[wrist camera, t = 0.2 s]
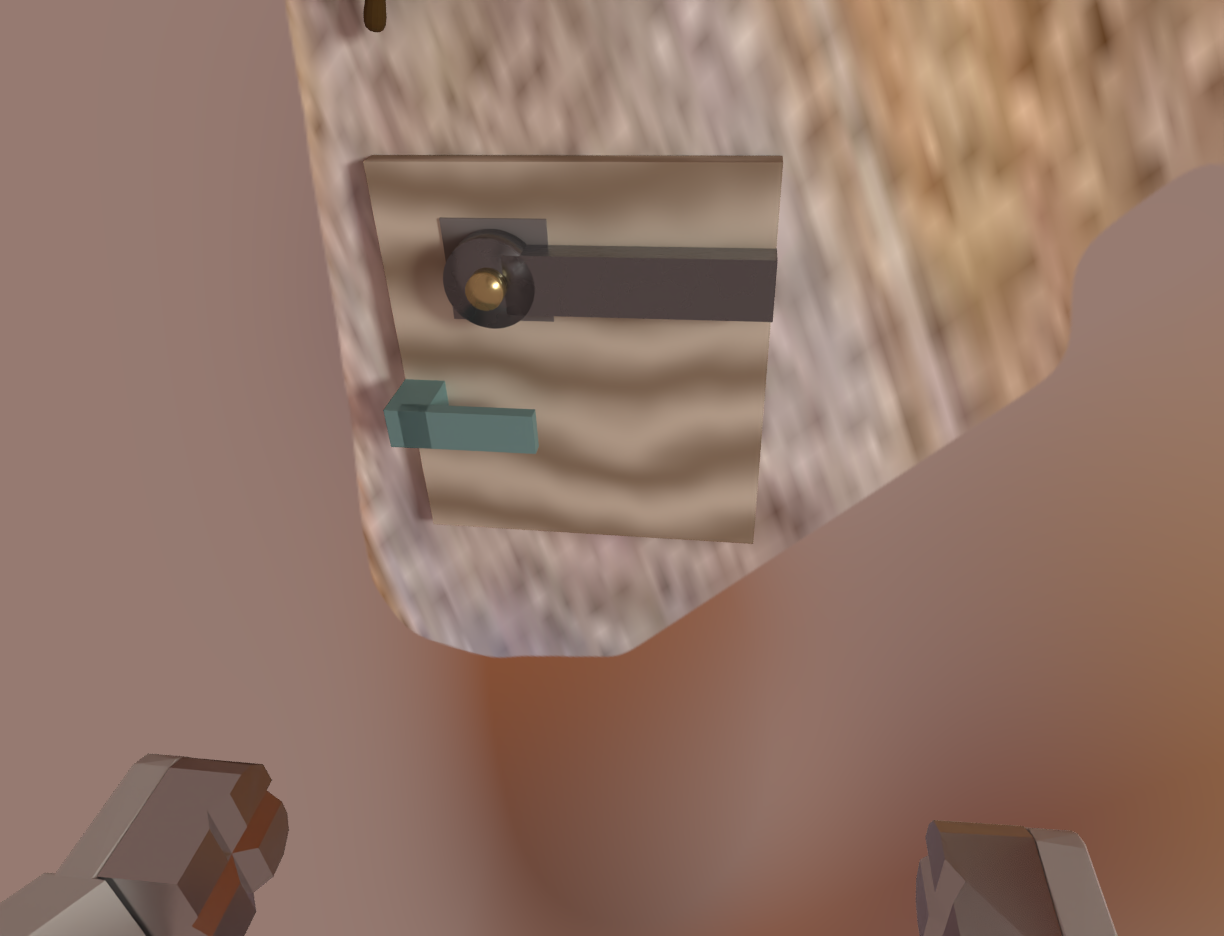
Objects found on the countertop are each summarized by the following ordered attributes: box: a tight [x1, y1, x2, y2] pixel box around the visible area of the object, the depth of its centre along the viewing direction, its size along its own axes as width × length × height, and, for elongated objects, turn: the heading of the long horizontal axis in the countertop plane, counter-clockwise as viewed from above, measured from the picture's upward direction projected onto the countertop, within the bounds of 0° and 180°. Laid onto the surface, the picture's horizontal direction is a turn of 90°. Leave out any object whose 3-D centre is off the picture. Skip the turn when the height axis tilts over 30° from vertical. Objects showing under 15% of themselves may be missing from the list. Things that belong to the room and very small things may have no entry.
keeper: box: [383, 379, 539, 454], centre depth 60 cm, size 3×10×4 cm, turn 92°
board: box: [363, 155, 783, 544], centre depth 60 cm, size 29×26×2 cm
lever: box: [443, 229, 777, 329], centre depth 53 cm, size 21×6×3 cm, turn 92°
